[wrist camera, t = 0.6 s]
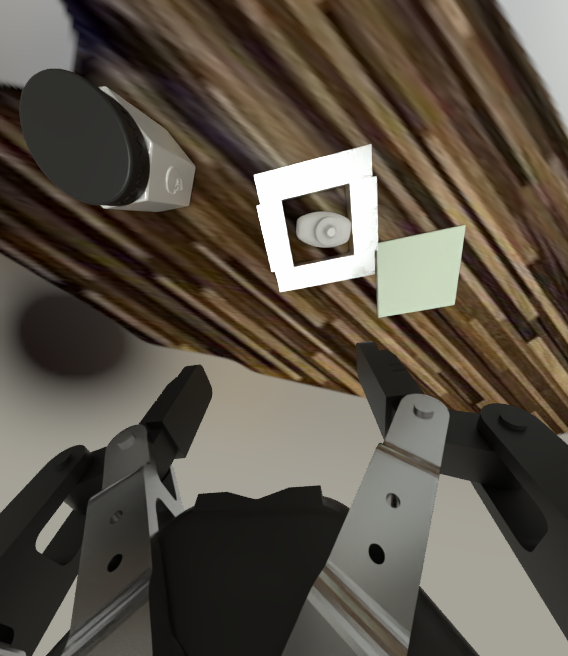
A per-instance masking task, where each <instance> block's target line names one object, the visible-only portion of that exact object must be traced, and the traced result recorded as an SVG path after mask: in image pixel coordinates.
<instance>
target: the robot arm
mask: <svg viewBox="0 0 568 656" xmlns="http://www.w3.org/2000/svg"><path fill="white" fill-rule="evenodd" d="M356 356H357V372H358V377H359V380H360V383H361V385H362V388H363V390H364V393H365V395H366V398H367V400H368V402H369V405H370V407H371V410H372V412H373V414H374V417H375V419H376V421H377V424H378V427H379V429H380V431H381V434H382V436H383V439H384V442H383V444H382V443H379V444H378V446H377V447H376V450H375V452H374V454H373V456H372V459H371V461H370V463H369V466H368V468H367V470H366V473H365V475H364V477H363V480H362V482H361V484H360V487H359V489H358V492H357V494H356V496H355V498H354V500H353V503H352V505H351V507H350V509H349V508H348V507H347V506H345V505H344V504H342V503H340V502H338V501H336V500H333V499H331V498H328V497H324V496H322V491H321V486H305V487H291V488H287V489H284V490H281V491H279V492H276V493H273V494H271V495H268V496H265V497H262V498H260V499H252V498H247V497H244V496H240V495H237V494H233V493H229V492H221V493H220V492H219V493H207V494H206V493H205V494H198V497H197V500H196V503H195V506H193V507H191V508H189V509H187V510H185V511H184V509H183V506H182V502H181V498H180V493H179V489H178V485H177V481H176V476H175V472H174V468H173V466H172V465H171V464H172V462H173V460H174V459H179V458H185V457H186V455H187V453H188V451H189V448H190V446H191V444H192V442H193V439H194V437H195V435H196V432H197V430H198V428H199V425H200V423H201V421H202V419H203V416H204V414H205V412H206V409H207V407H208V405H209V403H210V400H211V398H212V387H211V385H210V382H209V380H208V378H207V375H206V373H205V371H204V369H203V367H202V366H201V365H193V366H186V367H184V368H183V370H182V371H181V373H180V374H179V375H178V377H176V378H175V379H174V380H173V381H172V382H170V383H169V384H168V385H167V386H166V388H165V389H164V390H163V392H162V394H161V395H160V396H159V397H158V399H157V401H155V403H154V404H153V405H152V407H151V408H150V410H149V411H148V412H147V414H146V415H145V416H144V418H143V419H142V420H141V422H140V423H139V424H138V425H133V426H130V427H128V428H126V429H124V430H123V431H121V432H120V433H119V434H117V435H116V436H115V437H114V438H113V439H112V440H111V441H110V443H109V444H108V446H107V447H104V448H101V449H99V450H96V451H93V452H89V451H88V450H87V448H86V447H85V446H83V445H77V446H73V447H70V448H68V449H66V450H64V451H63V452H61V453H59V454H58V455H57V456H55V457H54V458H53V459H51V460H50V461H49V462H48V463H47V464H46V465H45V466H44V467H43V468H42V469H41V470H40V471H39V473H38V474H37V475H36V476H35V477H34V478H33V479H32V480H31V481H30V482H29V484H27V485H26V486H25V488H24V489H23V490H22V491H21V492H20V493H19V494H18V495H17V496H16V497H15V498H14V499H13V500H12V501H11V502H10V503H9V504H8V506H7V507H6V508H5V509H4V510H3V511H2V512H1V513H0V656H32V655H33V653H34V651H35V649H36V647H37V646H38V644H39V642H40V640H41V638H42V637H43V635H44V633H45V631H46V630H47V628H48V626H49V624H50V622H51V620H52V619H53V617H54V615H55V613H56V612H57V610H58V608H59V606H60V605H61V603H62V601H63V599H64V597H65V596H66V594H67V592H68V590H69V589H70V587H71V585H72V583H73V581H74V580H75V578H76V576H77V574H78V577H77V585H76V592H75V599H74V606H73V613H72V620H71V627H70V630H69V631H68V632H67V633H66V634H65V635H64V637H63V638H62V639H61V640H60V641H59V642H58V643H57V644H56V645H55V646H54V647H53V649H52V650H51V651H50V652H49V653H48V654H47V655H46V656H479V655H478V654H477V652H476V651H475V650H474V649H473V648H472V646H471V645H470V644H469V643H468V642H467V641H466V640H465V638H464V637H463V636H462V635H461V634H460V632H459V631H458V630H457V629H456V628H455V627H454V626H453V624H452V623H451V622H450V621H449V620H448V619H447V617H446V616H445V615H444V614H443V613H442V611H441V610H440V609H439V608H438V607H437V606H436V604H435V603H434V602H433V601H432V600H431V599H430V597H429V596H428V595H427V594H426V593H425V592H424V590H423V589H422V588H421V587H420V586H419V585H420V580H421V574H422V569H423V563H424V558H425V552H426V547H427V541H428V536H429V530H430V525H431V518H432V513H433V508H434V503H435V497H436V492H437V486H438V480H439V474H444V475H448V476H452V477H456V478H460V479H464V480H469V481H471V483H472V484H473V486H474V488H475V490H476V491H477V493H478V495H479V496H480V498H481V499H482V501H483V503H484V504H485V506H486V508H487V509H488V511H489V513H490V514H491V516H492V518H493V519H494V521H495V522H496V524H497V526H498V527H499V529H500V530H501V532H502V534H503V535H504V537H505V539H506V540H507V542H508V544H509V545H510V547H511V549H512V550H513V552H514V553H515V555H516V557H517V558H518V560H519V562H520V563H521V565H522V567H523V568H524V570H525V571H526V573H527V575H528V576H529V578H530V580H531V581H532V583H533V585H534V586H535V588H536V589H537V591H538V593H539V594H540V596H541V598H542V599H543V601H544V603H545V604H546V605H547V607H548V609H549V611H550V612H551V614H552V616H553V617H554V619H555V620H556V622H557V624H558V625H559V627H560V629H561V630H562V632H563V634H564V635H565V637H566V638H567V640H568V445H567V444H566V443H565V442H564V441H563V440H562V439H561V438H559V437H558V436H557V435H556V434H555V433H554V432H553V431H552V430H550V429H549V428H548V427H547V426H546V425H545V424H544V423H543V422H541V421H540V420H539V419H538V418H537V417H535V416H534V415H532V414H530V413H529V412H527V411H525V410H522V409H520V408H517V407H515V406H511V405H507V404H500V403H494V404H488V405H486V406H484V407H483V408H482V410H481V412H480V414H476V413H469V412H462V411H455V410H450V409H447V408H446V407H445V405H444V404H443V403H441V402H440V401H439V400H437V399H435V398H433V397H431V396H428V395H425V394H424V393H423V391H422V390H421V389H420V387H419V386H418V385H417V383H416V382H415V381H414V379H413V378H412V377H411V375H410V374H409V372H408V371H406V368H405V367H404V366H403V364H401V362H400V360H399V359H398V358H397V356H396V355H394V354H393V353H391V352H389V351H388V350H379V349H378V348H377V346H376V345H375V343H374V342H373V341H368V342H361V343H357V344H356ZM63 501H64V502H65V503H66V504H68V505H69V506H70V507H71V508H73V511H72V512H71V513H70V515H69V516H68V518H67V519H66V521H65V522H64V523H63V525H62V526H61V528H60V529H59V531H58V532H57V533H56V535H55V536H54V538H53V539H52V541H51V542H50V543H49V545H48V546H47V548H46V549H45V551H44V552H43V553H42V554H41V553H39V552H38V551H37V550H36V547H35V544H36V540H37V537H38V535H39V533H40V532H41V530H42V529H43V528H44V526H45V525H46V524H47V522H48V521H49V520H50V518H51V517H52V516H53V514H54V513H55V512H56V510H57V509H58V508H59V506H60V505H61V504H62V503H63Z"/></svg>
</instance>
